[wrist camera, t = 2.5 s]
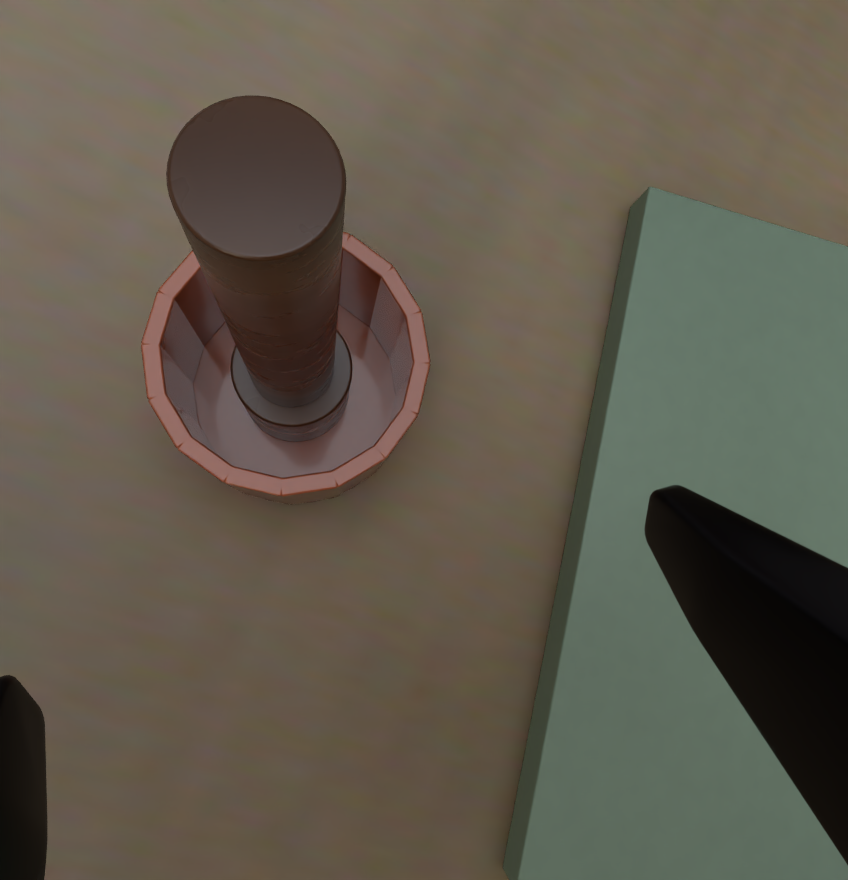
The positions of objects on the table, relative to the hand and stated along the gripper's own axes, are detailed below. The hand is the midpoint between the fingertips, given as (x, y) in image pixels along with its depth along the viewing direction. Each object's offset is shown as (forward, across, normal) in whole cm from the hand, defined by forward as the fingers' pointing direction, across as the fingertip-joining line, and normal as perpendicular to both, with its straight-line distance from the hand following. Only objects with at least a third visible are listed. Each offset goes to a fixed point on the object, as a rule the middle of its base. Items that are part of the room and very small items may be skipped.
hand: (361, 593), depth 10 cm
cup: (+12, 0, +5) cm, 13 cm away
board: (+6, -13, +11) cm, 18 cm away
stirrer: (+12, 0, +4) cm, 13 cm away
